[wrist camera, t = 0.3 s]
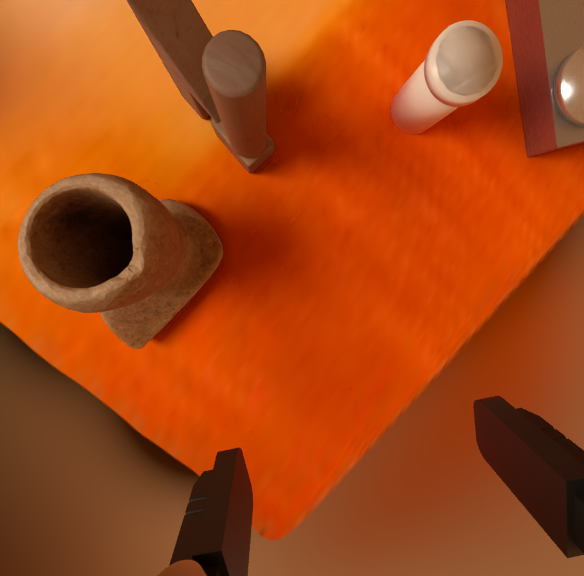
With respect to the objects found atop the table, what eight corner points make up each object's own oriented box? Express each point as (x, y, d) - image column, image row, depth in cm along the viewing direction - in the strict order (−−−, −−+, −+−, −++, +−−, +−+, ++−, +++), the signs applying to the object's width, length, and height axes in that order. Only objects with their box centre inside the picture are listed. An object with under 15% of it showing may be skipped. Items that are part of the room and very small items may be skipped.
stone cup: (159, 172, 36) (83, 123, 21) (239, 251, 38) (221, 257, 23) (62, 272, 37) (-77, 292, 22) (146, 346, 38) (69, 411, 24)
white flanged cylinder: (382, 87, 36) (424, 29, 27) (434, 74, 37) (496, 12, 27) (393, 143, 37) (438, 108, 28) (444, 131, 38) (507, 91, 28)
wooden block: (206, 70, 35) (142, -107, 17) (275, 152, 37) (282, 68, 19) (180, 94, 35) (90, -57, 17) (250, 175, 37) (233, 113, 19)
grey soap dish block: (498, -35, 36) (537, -82, 31) (573, -52, 36) (624, -101, 31) (525, 157, 39) (565, 144, 33) (594, 140, 39) (644, 124, 34)
